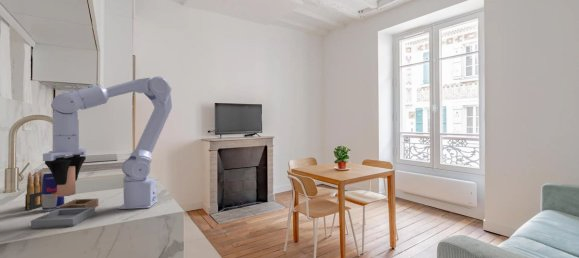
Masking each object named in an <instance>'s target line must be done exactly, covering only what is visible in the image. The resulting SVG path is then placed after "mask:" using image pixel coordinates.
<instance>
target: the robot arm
mask: <svg viewBox="0 0 579 258" xmlns="http://www.w3.org/2000/svg"><path fill="white" fill-rule="evenodd" d="M133 92H135V93H138V94H144V95H145V96H146V98H148V99H149V100H150V101H151V104H152V105H153V107H154V108H153V109H152V110H153V111H152V113H151V114H150V117H149V119H148V121H147V123H146V125H145V127H144V130H143V132H142V134H141V136H140V139H139V140H138V143H137V145H136V146H135V149H134V150H133V151H132V152H131V154H130V155H129V157H128V158H127V159H126V160H124V162H122V165H121V171H122V173H123V174H124V175H125V176H124V177H123V180H122V181H123V204H122V205H120V206H119V207H118V208H117V209H118V210H126V209H127V210H128V209H130V210H131V209H132V210H133V209H149V208H151V207H152V206H153V205H155V204H156V203H157V202H158V188H157V187H158V184H157V179H155V178H149V175H150V172H151V163H152V161H153V159H152V156H153V155H152V153H153V152H154V149H155V146H156V144H157V142H158V140H159V138H160V136H161V133H162V131H163V128H164V126H165V124H166V122H167V120H168V117H169V115H170V113H171V110H172V107H173V103H172V97H171V96H172V95H171V92H172V87H171V86H170V84H169V81H168V80H167V79H166V78H165V77H163V76H160V75H159V76H154V77H152V78H151V77H143V78H138V79H134V80H130V81H126V82H123V83H119V84H115V85H112V86H108V87H103V86H101V85H94V84H90V85H87V87H85V88H81V89H78V90H74V89H70V90H68V92H67V91H66V92H62V93H59V94H57V95H56V96H55V97H54V98H53V99H52V101H51V104H50V106H51V108H52V110H53V113H52V117H53V119H52V150H51V151H48V152H46V153H45V152H44V153H42V162H44V164H45V165H46V166H47V168H48V169H49V171H51V172H52V175H53V177H54V180H55V183H56V185H65V184H66V182H67V173H68V168H69V166H75V182H77V180H78V178H79V174H80V170H81V168H82V166H83V165H84V162H85V161H86V155H87V149H86V148H80V132H79V131H80V130H79V127H80V126H79V124H80V123H79V122H80V121H79V119H78V113H79V112H78V111H79V110H83V111H84V110H87V109H90V108H95V107H97V106H101V105H104V104H105V105H106V104H107V102H108V101H109V99H110V98H112V97H113V98H114V97H117V96H120V95H125V94H128V93H133Z"/></svg>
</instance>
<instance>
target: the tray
mask: <svg viewBox="0 0 579 258" xmlns="http://www.w3.org/2000/svg"><path fill="white" fill-rule="evenodd" d="M95 214H96V207H89V208H66V209H57V210H55V211H49V212H48V213H46V214H43V215H42V216H39V217H37V218H35V219H32V220H30V228H31V229H44V228H45V229H46V228H66V227H74V226H77V225H78V224H80V223H81V222H83V221H85V220H87V219H88V218H90V217H92V216H94V215H95Z"/></svg>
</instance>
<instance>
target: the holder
mask: <svg viewBox="0 0 579 258" xmlns="http://www.w3.org/2000/svg"><path fill="white" fill-rule="evenodd" d="M89 207H95V208H97V207H99V198H77V199H72V200H70V201H68V202H66V203H65V202H64V204H63V205H61V206H60V209H66V208H89Z"/></svg>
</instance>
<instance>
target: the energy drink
mask: <svg viewBox="0 0 579 258" xmlns="http://www.w3.org/2000/svg"><path fill="white" fill-rule="evenodd" d="M41 177H42V207H41V210H42V211H43V212H46V213H47V212H48V213H49V212H52V211H55V210H57V209H60V206H61V205H63V204H65V196H63V197H59V196H58V195H57V185H56V183H55V180H54V177H53V175H52V172H51V171H50V170H48V172H45V171H43V174H42V176H41Z"/></svg>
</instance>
